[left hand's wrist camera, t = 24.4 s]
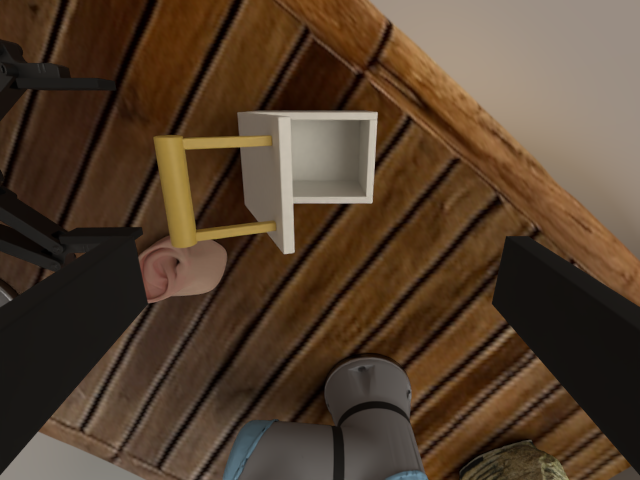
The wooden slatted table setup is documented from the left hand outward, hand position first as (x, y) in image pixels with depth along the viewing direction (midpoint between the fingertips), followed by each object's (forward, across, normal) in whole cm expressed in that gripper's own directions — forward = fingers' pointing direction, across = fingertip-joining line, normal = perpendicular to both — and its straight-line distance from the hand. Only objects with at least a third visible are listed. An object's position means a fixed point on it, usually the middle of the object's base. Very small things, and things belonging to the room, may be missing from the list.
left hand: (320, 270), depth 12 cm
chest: (+37, +1, 0) cm, 37 cm away
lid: (+20, +5, 0) cm, 21 cm away
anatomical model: (+37, +21, +17) cm, 46 cm away
